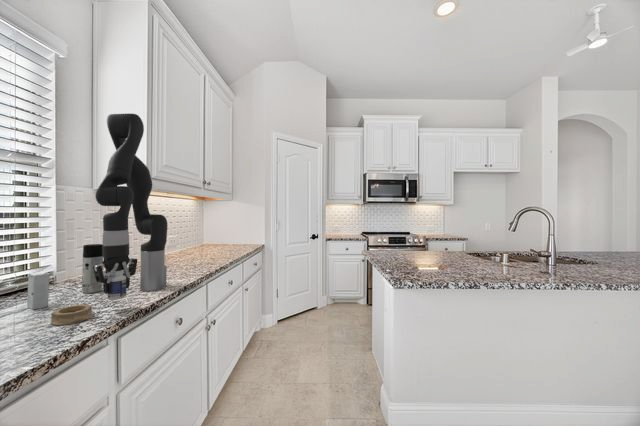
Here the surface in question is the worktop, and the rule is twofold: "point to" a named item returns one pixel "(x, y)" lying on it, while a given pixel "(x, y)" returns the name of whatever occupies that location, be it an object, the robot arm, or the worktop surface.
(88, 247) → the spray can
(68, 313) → the collar
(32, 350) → the worktop surface
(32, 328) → the worktop surface
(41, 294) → the skincare box
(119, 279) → the pill bottle
